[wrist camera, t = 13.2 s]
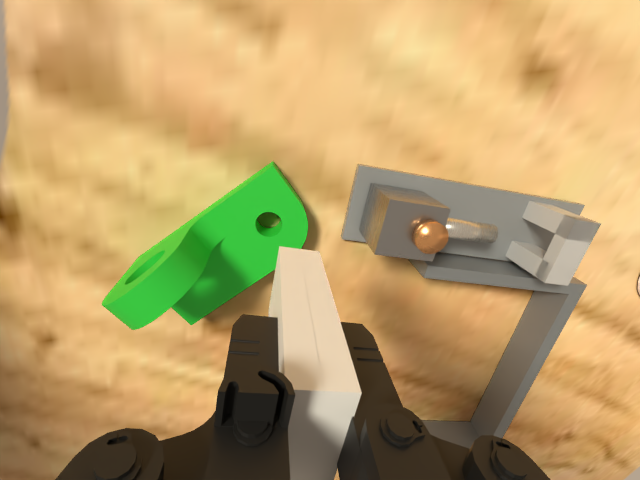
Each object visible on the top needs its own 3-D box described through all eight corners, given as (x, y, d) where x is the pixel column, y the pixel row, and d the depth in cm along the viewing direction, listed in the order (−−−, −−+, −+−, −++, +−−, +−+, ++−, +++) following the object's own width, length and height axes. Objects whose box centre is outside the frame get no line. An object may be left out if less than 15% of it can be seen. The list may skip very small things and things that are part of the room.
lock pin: (358, 230, 25) (378, 260, 20) (370, 182, 24) (394, 203, 19) (466, 245, 27) (507, 275, 22) (483, 201, 25) (530, 224, 21)
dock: (297, 424, 33) (301, 476, 29) (357, 163, 24) (377, 179, 19) (476, 428, 37) (504, 473, 32) (589, 205, 28) (650, 226, 23)
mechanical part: (196, 309, 27) (168, 389, 20) (139, 255, 24) (83, 323, 17) (320, 226, 25) (340, 278, 18) (273, 160, 23) (273, 189, 16)
